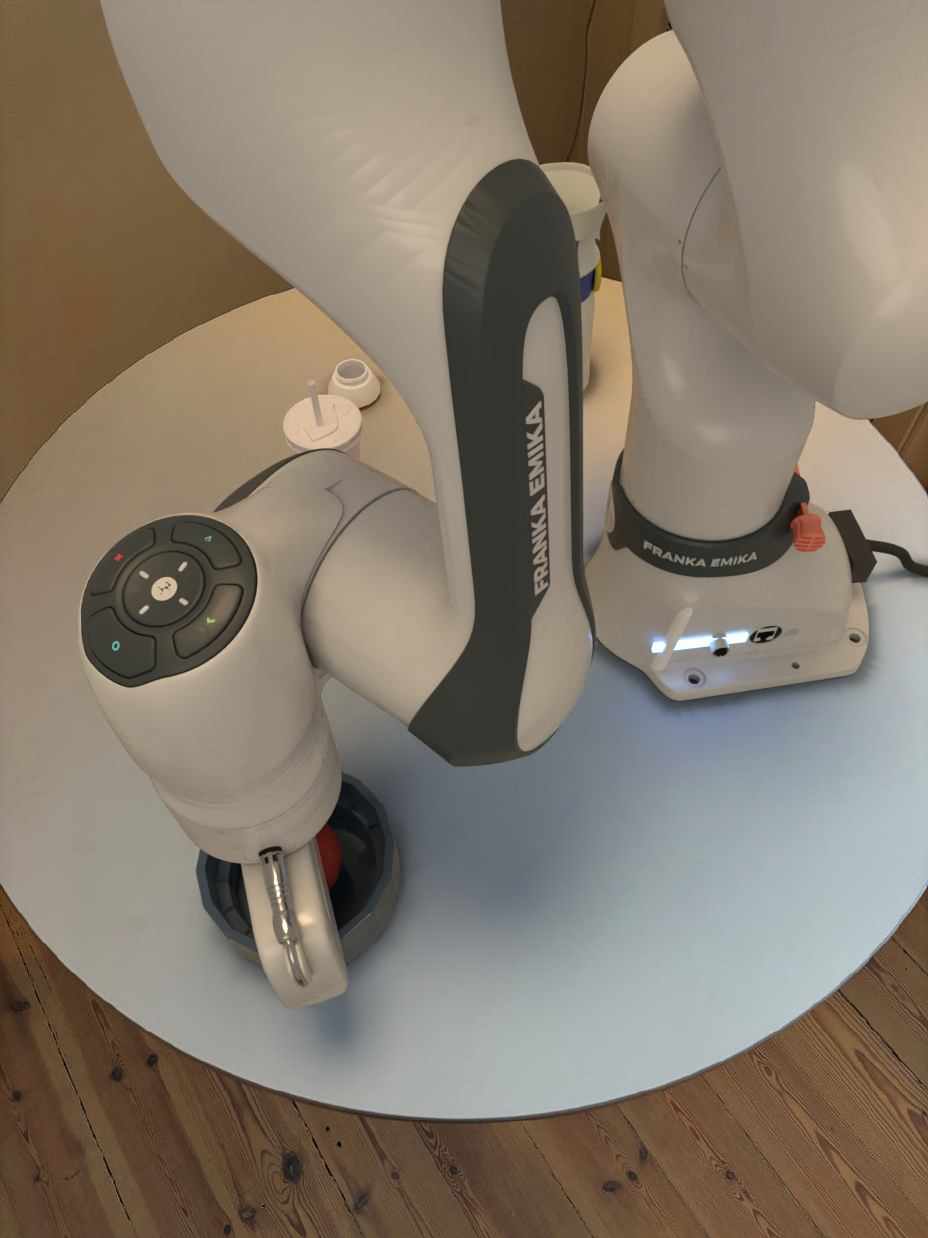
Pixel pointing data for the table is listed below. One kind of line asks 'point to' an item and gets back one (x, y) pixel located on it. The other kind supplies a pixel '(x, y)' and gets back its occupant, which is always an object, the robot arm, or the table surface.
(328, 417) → the smoothie
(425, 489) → the table surface
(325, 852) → the red fruit
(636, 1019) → the table surface
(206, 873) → the bowl
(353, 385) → the lidless jar
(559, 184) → the water bottle
